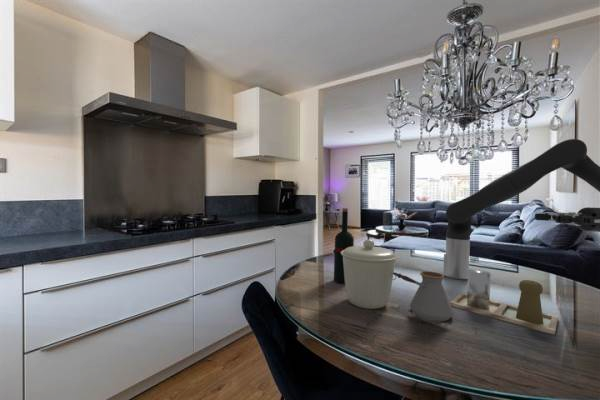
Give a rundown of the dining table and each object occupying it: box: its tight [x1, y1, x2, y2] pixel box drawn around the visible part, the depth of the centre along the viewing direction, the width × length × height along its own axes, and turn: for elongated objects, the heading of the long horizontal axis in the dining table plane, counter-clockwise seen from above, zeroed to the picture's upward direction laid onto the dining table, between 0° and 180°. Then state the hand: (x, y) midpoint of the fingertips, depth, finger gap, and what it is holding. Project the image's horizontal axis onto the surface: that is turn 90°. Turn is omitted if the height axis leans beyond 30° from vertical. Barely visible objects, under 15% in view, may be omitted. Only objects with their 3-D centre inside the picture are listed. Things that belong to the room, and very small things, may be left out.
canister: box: [341, 238, 398, 310], centre depth 92 cm, size 18×18×21 cm
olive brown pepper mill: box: [516, 279, 544, 325], centre depth 79 cm, size 6×6×11 cm
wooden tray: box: [449, 292, 559, 336], centre depth 84 cm, size 25×12×2 cm, turn 44°
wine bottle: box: [333, 207, 355, 285], centre depth 113 cm, size 8×10×30 cm
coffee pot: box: [390, 271, 454, 325], centre depth 80 cm, size 21×12×15 cm, turn 115°
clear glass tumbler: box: [466, 268, 492, 310], centre depth 88 cm, size 6×6×11 cm
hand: (545, 217), depth 89 cm, fingers open, 8 cm apart
